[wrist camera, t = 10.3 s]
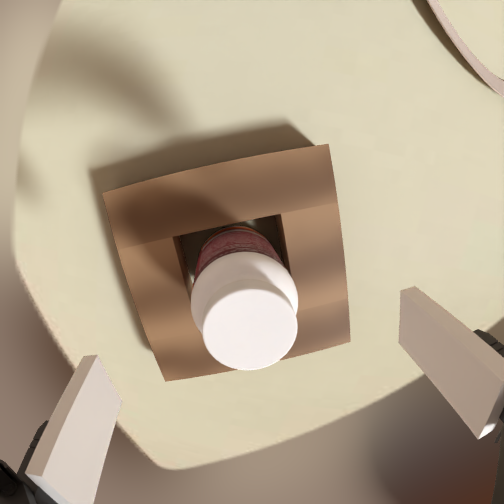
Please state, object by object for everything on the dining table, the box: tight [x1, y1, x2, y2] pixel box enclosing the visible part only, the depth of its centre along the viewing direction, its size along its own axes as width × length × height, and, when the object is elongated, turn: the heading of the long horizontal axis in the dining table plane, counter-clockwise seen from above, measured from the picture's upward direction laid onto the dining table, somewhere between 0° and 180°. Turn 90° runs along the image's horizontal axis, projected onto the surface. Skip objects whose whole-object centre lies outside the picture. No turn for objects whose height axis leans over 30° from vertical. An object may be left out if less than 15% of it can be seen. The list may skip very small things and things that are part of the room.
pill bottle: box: [191, 226, 298, 370], centre depth 20 cm, size 6×6×11 cm
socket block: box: [102, 144, 350, 382], centre depth 24 cm, size 16×16×3 cm
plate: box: [427, 0, 504, 98], centre depth 19 cm, size 26×26×2 cm
